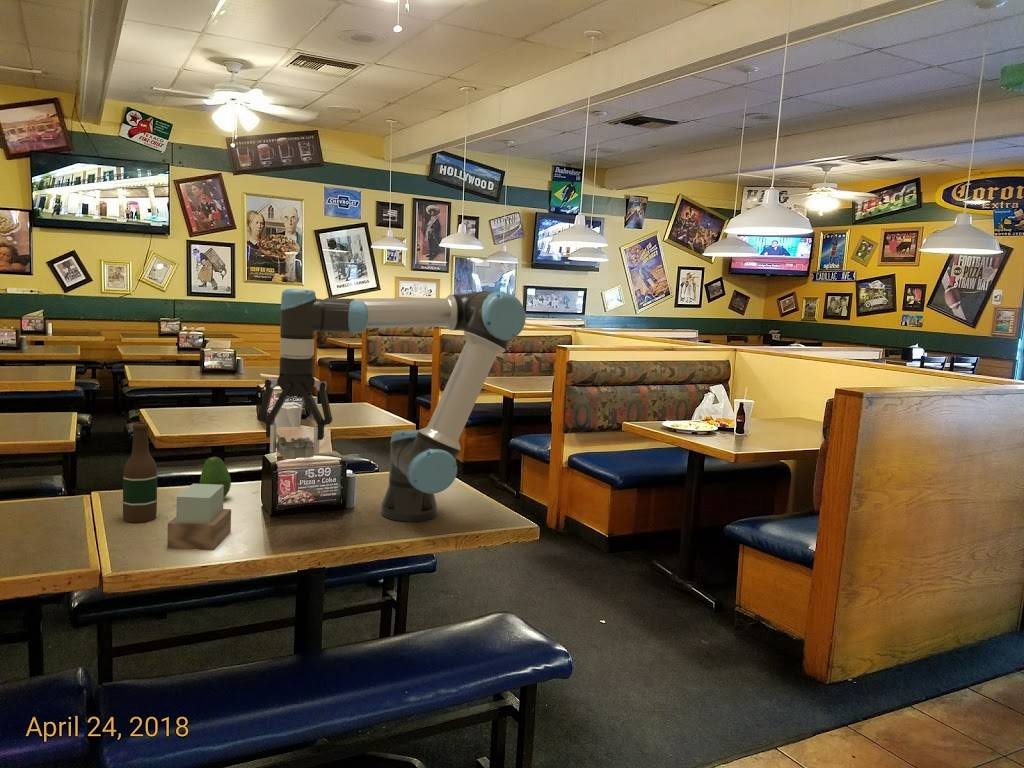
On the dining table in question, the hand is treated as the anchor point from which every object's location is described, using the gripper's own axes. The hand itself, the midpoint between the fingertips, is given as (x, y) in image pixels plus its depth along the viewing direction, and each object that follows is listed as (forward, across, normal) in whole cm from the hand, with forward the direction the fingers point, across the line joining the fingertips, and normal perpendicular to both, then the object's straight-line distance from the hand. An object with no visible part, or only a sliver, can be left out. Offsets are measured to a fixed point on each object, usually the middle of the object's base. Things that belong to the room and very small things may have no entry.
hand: (294, 452), depth 168 cm
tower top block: (+15, +20, +3) cm, 25 cm away
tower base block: (+21, +20, +3) cm, 29 cm away
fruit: (+21, +27, -28) cm, 44 cm away
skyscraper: (+21, +10, -36) cm, 43 cm away
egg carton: (+1, 0, 0) cm, 1 cm away
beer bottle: (+21, +39, -10) cm, 46 cm away
